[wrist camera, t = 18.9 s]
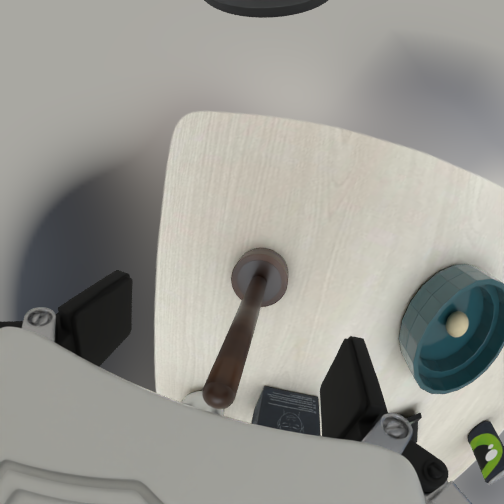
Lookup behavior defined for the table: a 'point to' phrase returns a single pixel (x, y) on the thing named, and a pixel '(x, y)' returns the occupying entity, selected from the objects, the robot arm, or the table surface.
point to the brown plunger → (245, 320)
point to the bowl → (437, 338)
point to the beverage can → (488, 451)
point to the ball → (457, 324)
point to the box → (287, 411)
